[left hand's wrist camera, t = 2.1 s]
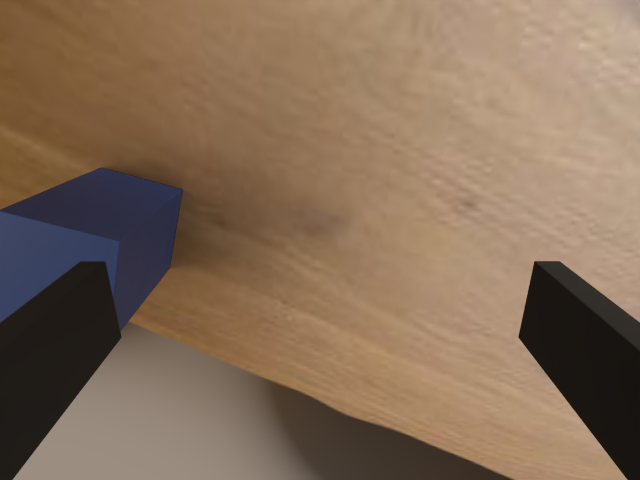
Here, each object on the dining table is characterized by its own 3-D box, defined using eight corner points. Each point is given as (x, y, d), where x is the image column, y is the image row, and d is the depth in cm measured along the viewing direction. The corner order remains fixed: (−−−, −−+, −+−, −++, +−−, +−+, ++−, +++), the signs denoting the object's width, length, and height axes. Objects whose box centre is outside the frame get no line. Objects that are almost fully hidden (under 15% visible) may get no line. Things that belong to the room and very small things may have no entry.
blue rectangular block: (93, 249, 30) (-2, 322, 21) (100, 167, 28) (-3, 210, 19) (169, 268, 30) (108, 347, 22) (183, 189, 28) (119, 241, 19)
